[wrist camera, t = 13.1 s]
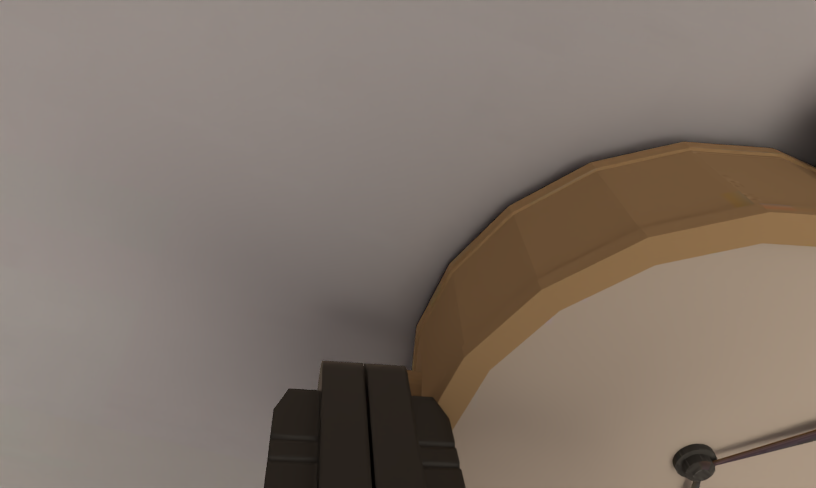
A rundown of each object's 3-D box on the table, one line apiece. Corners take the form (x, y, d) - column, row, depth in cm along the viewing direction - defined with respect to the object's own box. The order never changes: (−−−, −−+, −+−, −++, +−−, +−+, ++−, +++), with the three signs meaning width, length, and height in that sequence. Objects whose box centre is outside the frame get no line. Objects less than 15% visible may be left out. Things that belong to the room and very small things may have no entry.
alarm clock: (293, 359, 10) (1569, 5, 6) (341, 216, 14) (1123, -48, 10) (502, 681, 15) (1273, 596, 11) (492, 507, 19) (1053, 401, 16)
